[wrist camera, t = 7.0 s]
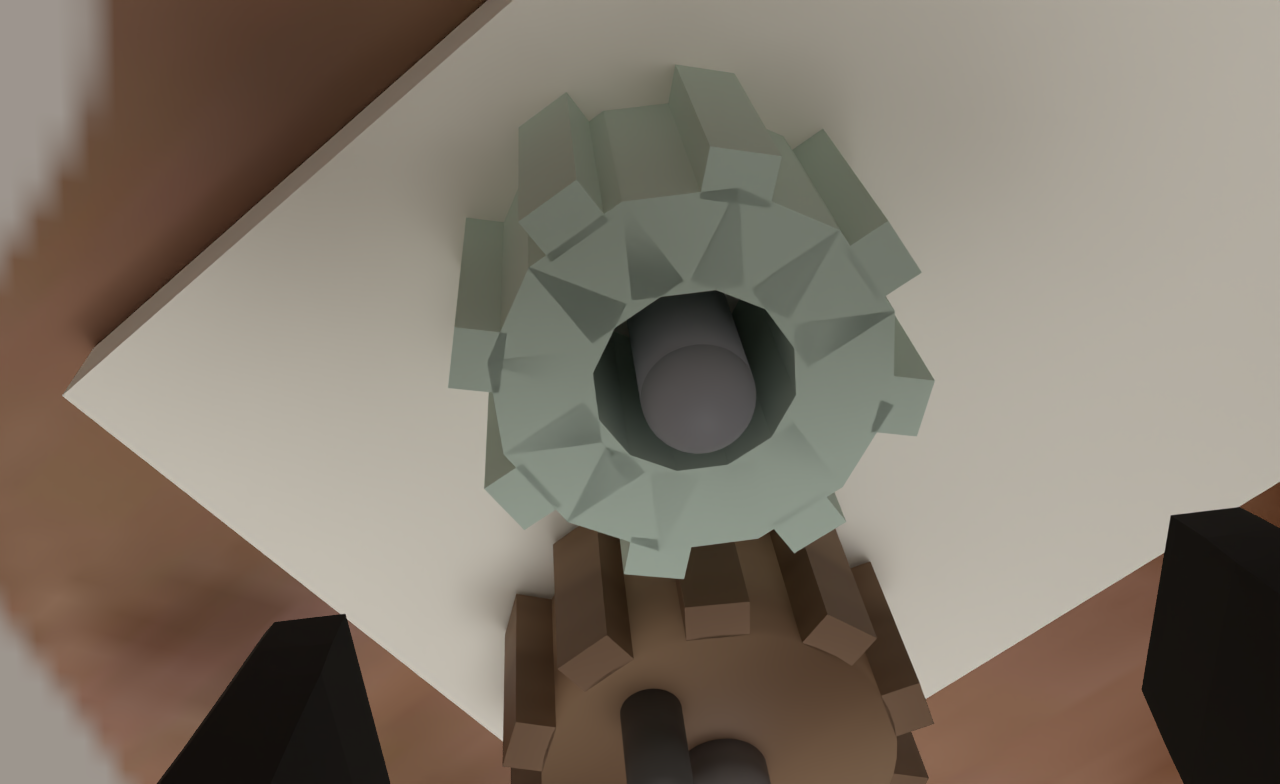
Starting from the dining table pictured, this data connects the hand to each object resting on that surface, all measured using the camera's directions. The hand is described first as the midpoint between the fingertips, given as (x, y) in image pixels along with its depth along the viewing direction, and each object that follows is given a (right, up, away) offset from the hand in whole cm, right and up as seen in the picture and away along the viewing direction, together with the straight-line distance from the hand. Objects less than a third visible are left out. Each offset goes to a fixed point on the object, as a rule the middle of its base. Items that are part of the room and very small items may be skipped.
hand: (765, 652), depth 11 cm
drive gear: (0, -2, +10) cm, 10 cm away
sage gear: (-1, +4, +7) cm, 8 cm away
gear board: (+1, +3, +9) cm, 10 cm away
